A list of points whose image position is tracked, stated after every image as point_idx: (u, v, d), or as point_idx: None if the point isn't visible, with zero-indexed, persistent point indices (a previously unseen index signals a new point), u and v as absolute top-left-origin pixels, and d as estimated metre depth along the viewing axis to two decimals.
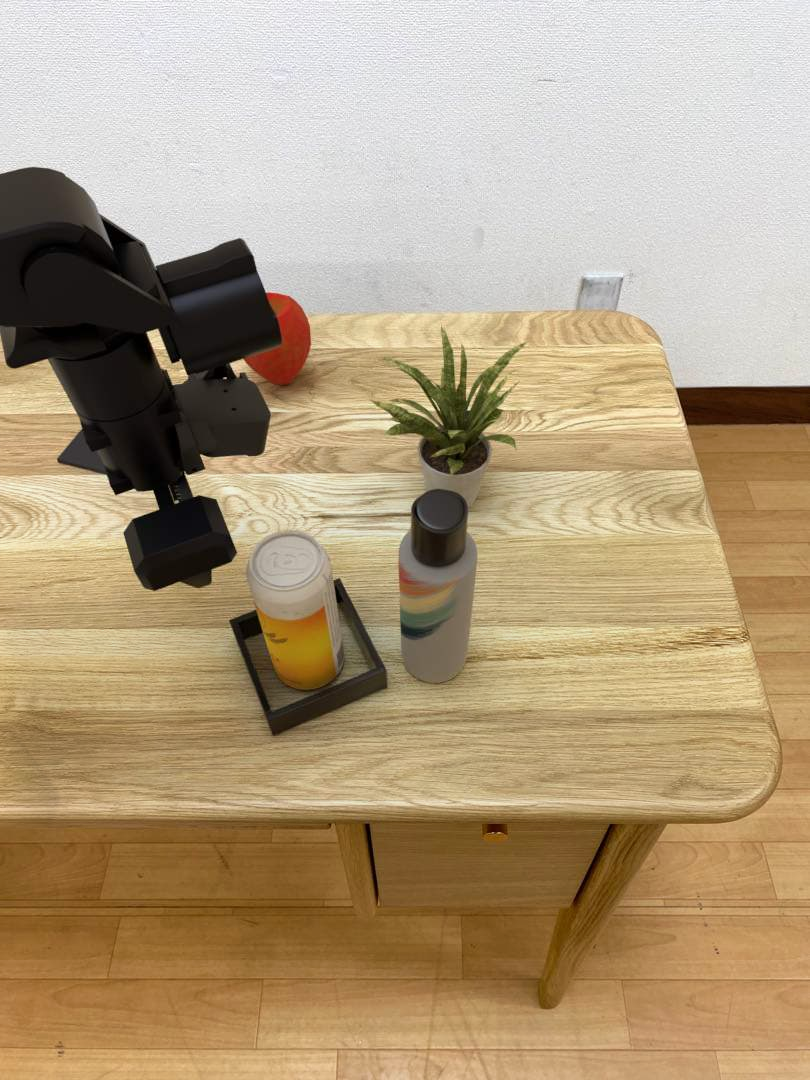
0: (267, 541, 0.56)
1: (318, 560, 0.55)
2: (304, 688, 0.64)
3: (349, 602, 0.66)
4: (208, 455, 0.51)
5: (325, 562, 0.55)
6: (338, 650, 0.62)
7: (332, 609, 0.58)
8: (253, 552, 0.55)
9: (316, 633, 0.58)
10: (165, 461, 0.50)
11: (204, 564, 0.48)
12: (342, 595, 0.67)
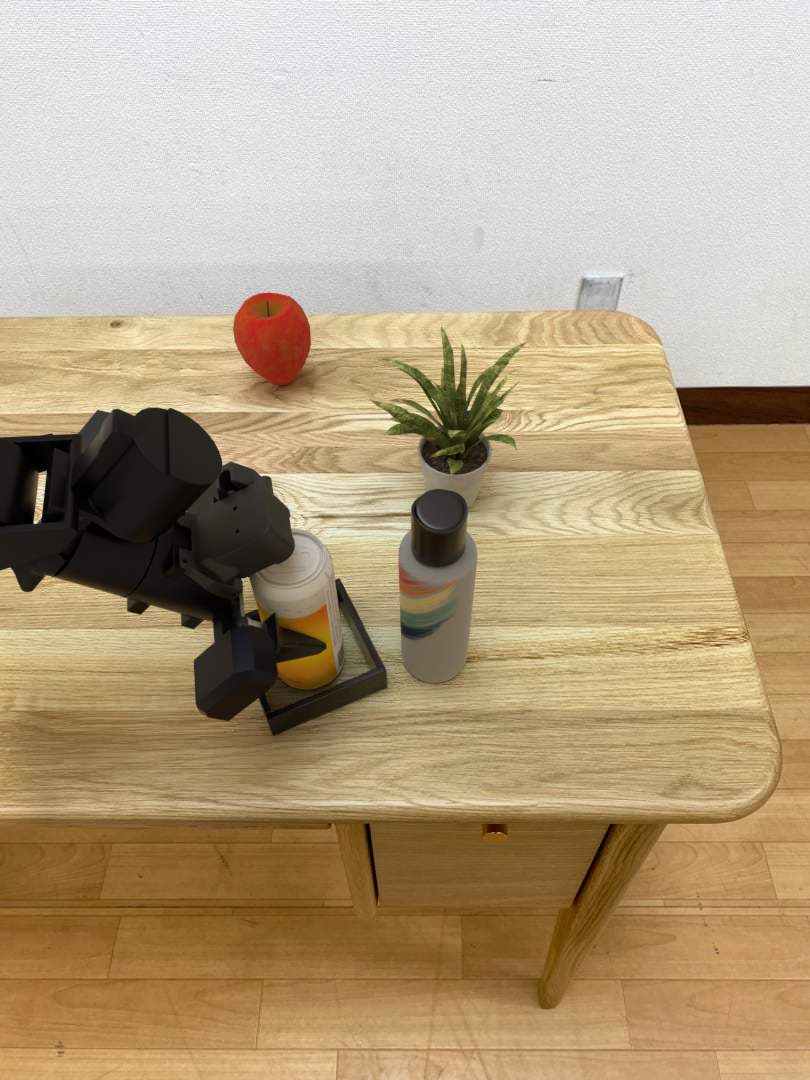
0: None
1: (320, 558, 0.55)
2: (304, 688, 0.63)
3: (349, 602, 0.66)
4: (240, 578, 0.51)
5: (327, 560, 0.55)
6: (339, 649, 0.62)
7: (333, 608, 0.58)
8: None
9: (318, 632, 0.58)
10: (203, 598, 0.52)
11: (249, 696, 0.50)
12: (342, 595, 0.67)
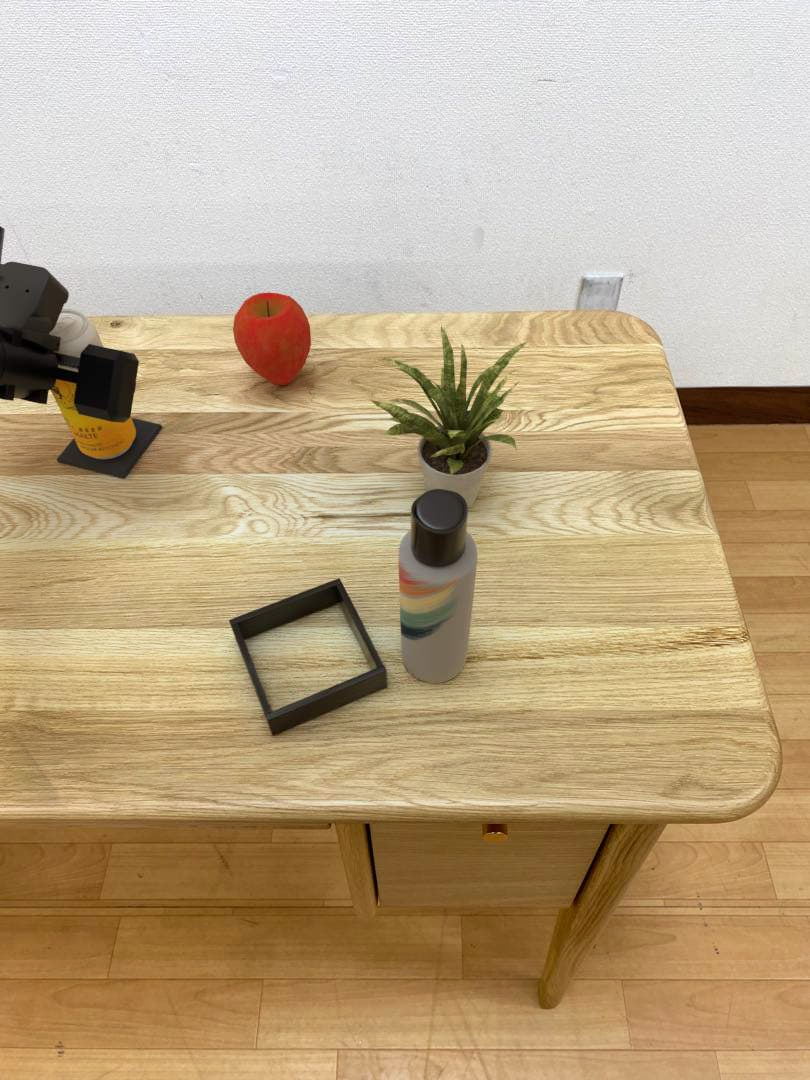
0: None
1: (75, 315, 0.72)
2: (127, 445, 0.80)
3: (349, 602, 0.66)
4: (52, 329, 0.67)
5: None
6: None
7: None
8: None
9: None
10: (42, 359, 0.66)
11: (131, 378, 0.67)
12: (342, 595, 0.67)
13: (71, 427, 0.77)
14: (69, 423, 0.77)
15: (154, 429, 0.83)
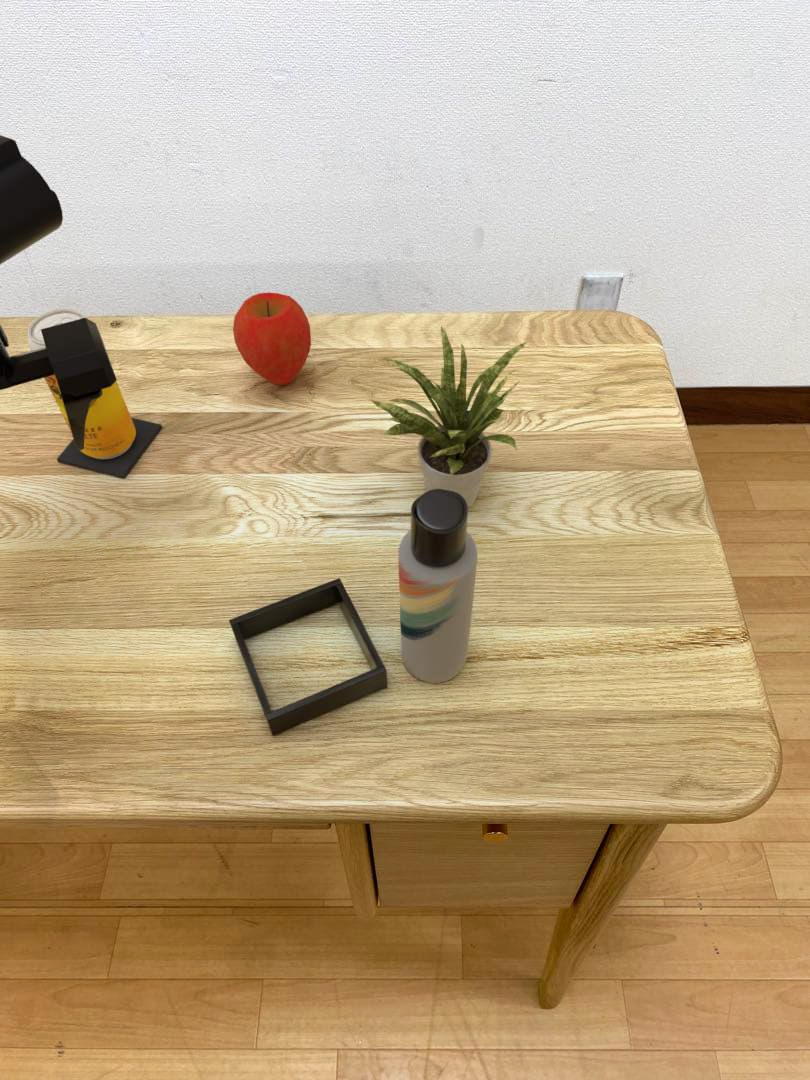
0: (31, 332, 0.70)
1: (75, 315, 0.72)
2: (127, 445, 0.80)
3: (349, 602, 0.66)
4: None
5: None
6: None
7: None
8: (33, 338, 0.69)
9: None
10: None
11: (104, 346, 0.60)
12: (342, 595, 0.67)
13: None
14: None
15: (154, 429, 0.83)
